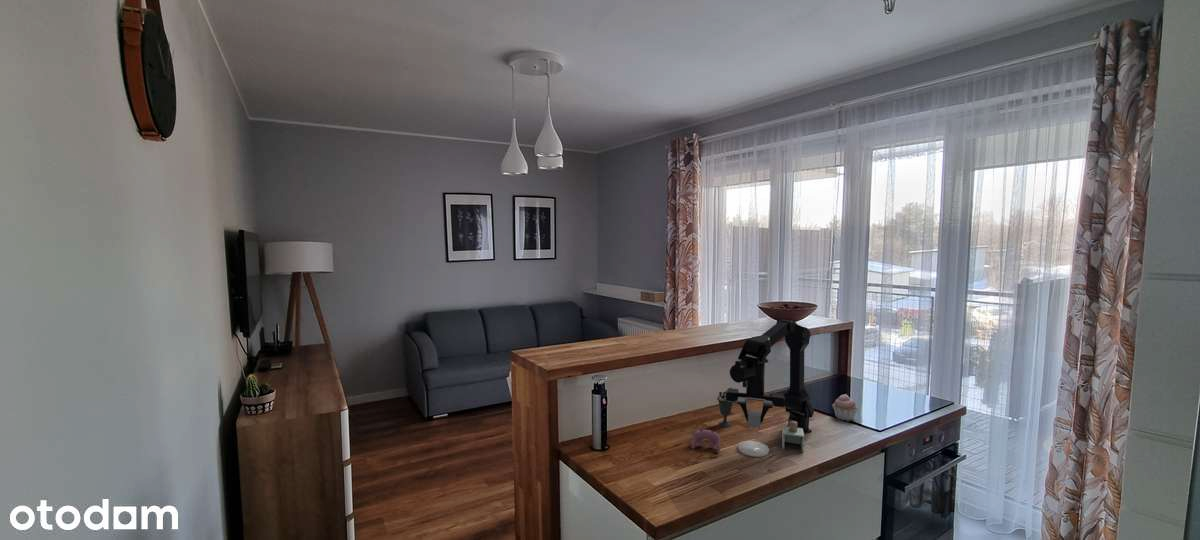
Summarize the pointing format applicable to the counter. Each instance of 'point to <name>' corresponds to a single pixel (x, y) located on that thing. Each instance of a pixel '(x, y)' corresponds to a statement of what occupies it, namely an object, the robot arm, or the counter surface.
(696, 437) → the video game controller
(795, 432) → the sage camera
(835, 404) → the cupcake
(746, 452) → the saucer
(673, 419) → the counter surface
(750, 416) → the slate cube
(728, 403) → the sundae
